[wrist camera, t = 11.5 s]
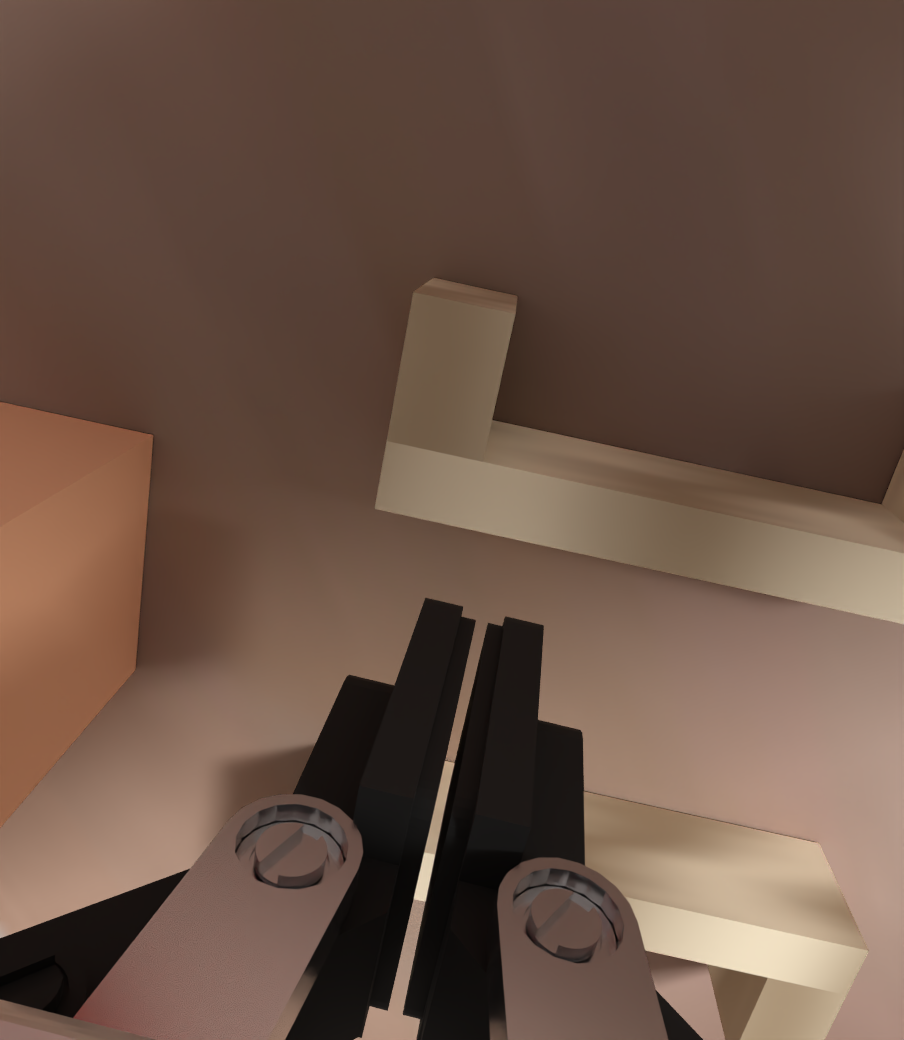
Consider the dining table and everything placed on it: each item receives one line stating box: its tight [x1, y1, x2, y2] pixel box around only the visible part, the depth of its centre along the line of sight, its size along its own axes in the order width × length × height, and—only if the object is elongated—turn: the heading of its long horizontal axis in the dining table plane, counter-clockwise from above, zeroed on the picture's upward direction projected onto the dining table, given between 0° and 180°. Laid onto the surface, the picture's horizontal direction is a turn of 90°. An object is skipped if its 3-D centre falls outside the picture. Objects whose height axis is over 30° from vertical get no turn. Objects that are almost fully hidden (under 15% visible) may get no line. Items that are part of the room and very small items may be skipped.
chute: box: [375, 278, 904, 1040], centre depth 17 cm, size 11×14×3 cm
